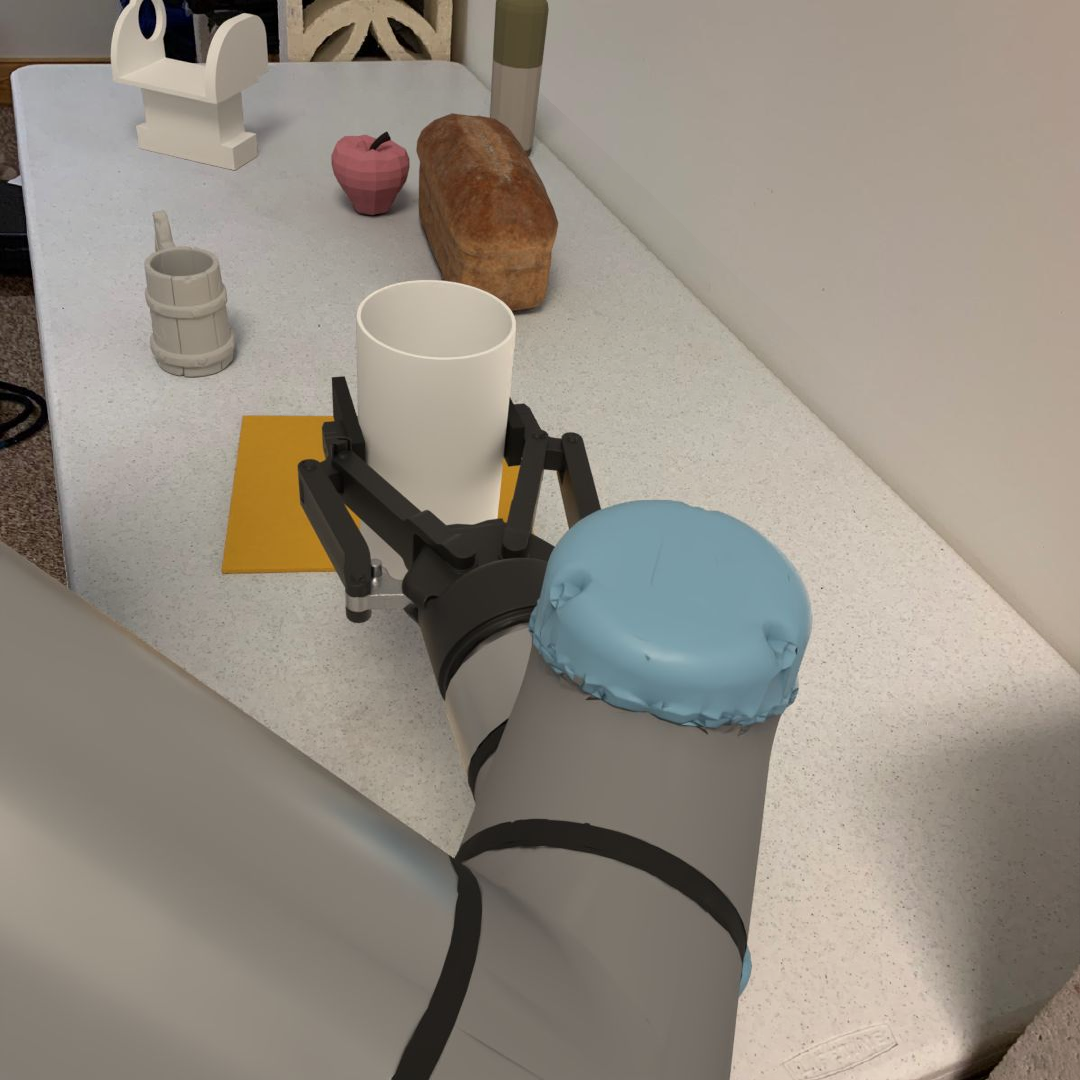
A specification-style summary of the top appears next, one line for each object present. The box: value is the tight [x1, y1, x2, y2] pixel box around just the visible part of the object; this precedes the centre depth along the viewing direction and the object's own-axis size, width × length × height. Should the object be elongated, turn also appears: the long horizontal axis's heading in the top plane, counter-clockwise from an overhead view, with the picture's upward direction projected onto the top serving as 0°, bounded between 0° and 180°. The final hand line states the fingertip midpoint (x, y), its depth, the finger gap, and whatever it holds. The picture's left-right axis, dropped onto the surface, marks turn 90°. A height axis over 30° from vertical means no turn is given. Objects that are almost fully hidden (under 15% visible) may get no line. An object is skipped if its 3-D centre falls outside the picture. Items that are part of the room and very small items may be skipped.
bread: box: [415, 112, 559, 312], centre depth 111 cm, size 12×28×14 cm, turn 15°
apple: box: [330, 130, 411, 216], centre depth 120 cm, size 10×9×10 cm
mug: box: [143, 209, 237, 378], centre depth 92 cm, size 8×12×12 cm, turn 31°
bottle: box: [489, 0, 550, 156], centre depth 133 cm, size 7×7×30 cm
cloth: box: [221, 414, 535, 574], centre depth 83 cm, size 24×20×1 cm
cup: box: [355, 279, 517, 580], centre depth 56 cm, size 8×8×16 cm
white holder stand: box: [110, 0, 270, 171], centre depth 126 cm, size 14×13×18 cm
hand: (414, 390), depth 59 cm, fingers closed on cup, 8 cm apart
